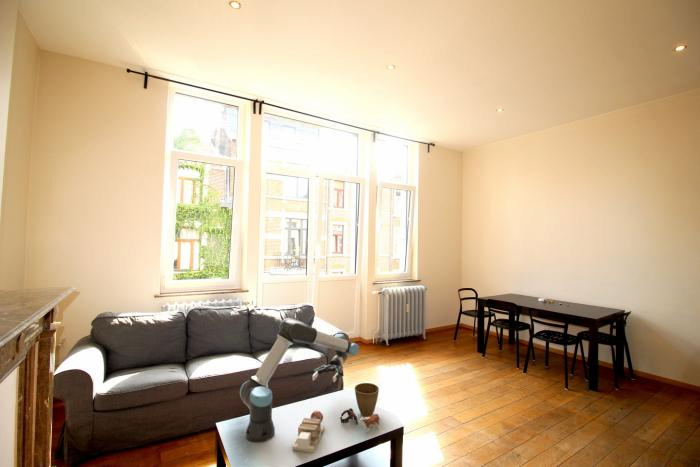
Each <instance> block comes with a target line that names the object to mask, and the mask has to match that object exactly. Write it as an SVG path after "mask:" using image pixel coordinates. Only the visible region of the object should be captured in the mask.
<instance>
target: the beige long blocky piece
mask: <svg viewBox="0 0 700 467" xmlns="http://www.w3.org/2000/svg"><path fill="white" fill-rule="evenodd" d="M321 424H322V422H321V420H319V419H311V417H310V418H308V417H304V418H302V420H301V423H300V424H299V426H298V427H297V438H296V440H295V441H294V442H293V445H292V449H291V450H292V451H295V452H303V453H309V454H310V453H311V454H314V453H315V450H316V449H317V446H318V444H319V442H320V440H321V438H322V436H323V434H324V431H325V427H323V426H321ZM302 431H303V432H305V431H311V443H310V445H309V447H308V449H301V448H298V437H299V435H300V433H301V432H302Z"/></svg>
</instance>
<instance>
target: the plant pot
mask: <svg viewBox="0 0 700 467" xmlns="http://www.w3.org/2000/svg"><path fill="white" fill-rule="evenodd" d="M379 390H380V388H379V386H378V385H376V384H375V383H372V382H371V383H370V382H362V383H361V382H360V383H359V384H357V385H356V384H355V386H354V393H355V399H356V404H357V407H358V411H359V413H360V416H361V417H363V418H365V417H370V416H372V415H374V412H375V409H376V406H377V403H378V396H379Z"/></svg>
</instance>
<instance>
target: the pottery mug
mask: <svg viewBox="0 0 700 467" xmlns="http://www.w3.org/2000/svg"><path fill="white" fill-rule="evenodd" d="M345 414H347V415H348V416H347V417H346V418H343V416H344V415H345ZM339 418H340V423H341V424H350V421H355V424H356V425H358V423H359V419H358V417H357V415H356V413H355V412H354V409H353V408H351V407H350V408H348V409H345V410H343V412H341V414H340V416H339Z"/></svg>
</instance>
